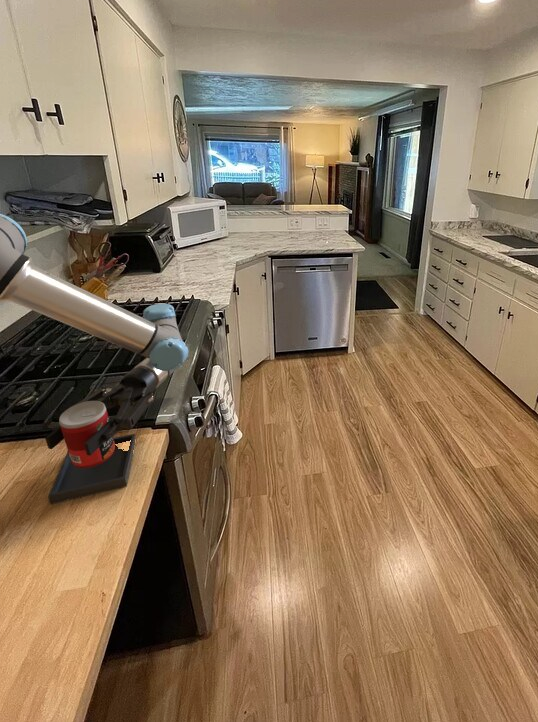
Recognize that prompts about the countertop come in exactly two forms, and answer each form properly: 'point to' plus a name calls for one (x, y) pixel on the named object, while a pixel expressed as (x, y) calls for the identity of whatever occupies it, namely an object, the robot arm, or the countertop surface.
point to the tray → (93, 474)
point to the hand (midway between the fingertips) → (67, 446)
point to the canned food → (85, 433)
